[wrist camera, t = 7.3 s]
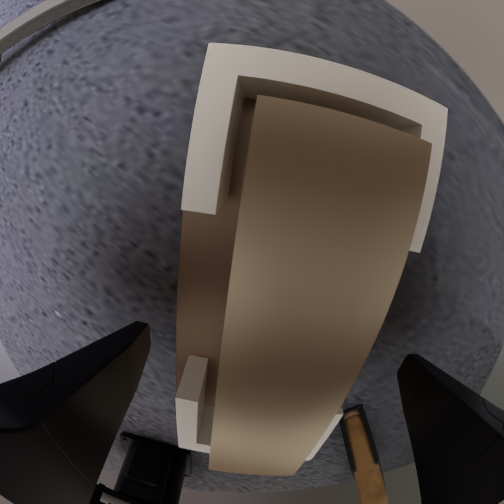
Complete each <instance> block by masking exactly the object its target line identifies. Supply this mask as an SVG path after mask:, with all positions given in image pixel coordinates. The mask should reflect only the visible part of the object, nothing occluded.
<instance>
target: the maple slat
mask: <svg viewBox="0 0 504 504" xmlns="http://www.w3.org/2000/svg"><path fill="white" fill-rule="evenodd" d="M431 149H432V143H430V142H427V141H425V140H423V139H420V138H418V137H415V136H413V135H410V134H408V133H405V132H403V131H400V130H397V129H395V128H392V127H389V126H386V125H383V124H380V123H377V122H374V121H371V120H368V119H365V118H361V117H358V116H355V115H351V114H348V113H344V112H340V111H337V110H333V109H329V108H325V107H321V106H316V105H312V104H307V103H302V102H297V101H292V100H287V99H281V98H275V97H269V96H263V95H257V100H256V106H255V112H254V118H253V124H252V131H251V137H250V143H249V149H248V156H247V162H246V169H245V175H244V182H243V189H242V195H241V202H240V209H239V216H238V223H237V230H236V237H235V244H234V252H233V259H232V266H231V274H230V281H229V289H228V297H227V305H226V312H225V320H224V329H223V337H222V345H221V354H220V362H219V371H218V380H217V389H216V398H215V407H214V417H213V426H212V436H211V447H210V457H209V468H208V469H209V470H215V471H222V472H231V473H240V474H252V475H271V476H293V475H294V474H295V473H296V472H297V470H298V469H299V468H300V466H301V465H302V464H303V462H304V461H305V460H306V458H307V457H308V456H309V454H310V453H311V451H312V450H313V449H314V447H315V446H316V444H317V443H318V441H319V440H320V438H321V437H322V435H323V434H324V432H325V431H326V429H327V428H328V426H329V425H330V423H331V422H332V420H333V418H334V417H335V415H336V414H337V412H338V410H339V409H340V407H341V405H342V404H343V402H344V400H345V398H346V397H347V395H348V393H349V391H350V389H351V388H352V386H353V384H354V382H355V380H356V378H357V377H358V375H359V373H360V371H361V369H362V367H363V365H364V363H365V361H366V359H367V357H368V355H369V353H370V351H371V348H372V346H373V344H374V342H375V340H376V338H377V335H378V333H379V331H380V329H381V326H382V324H383V322H384V319H385V317H386V314H387V312H388V309H389V307H390V304H391V302H392V299H393V297H394V294H395V291H396V289H397V286H398V283H399V280H400V277H401V274H402V271H403V268H404V265H405V262H406V259H407V256H408V253H409V249H410V246H411V243H412V239H413V236H414V232H415V228H416V224H417V221H418V217H419V213H420V208H421V204H422V200H423V195H424V190H425V185H426V180H427V175H428V169H429V163H430V156H431Z"/></svg>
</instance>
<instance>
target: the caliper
mask: <svg viewBox="0 0 504 504" xmlns="http://www.w3.org/2000/svg"><path fill="white" fill-rule="evenodd" d="M99 1H102V0H46V1H44V2H42V3H40V4H39V5H37V6H35V7H34V8H32V9H30V10H29V11H27V12H25V13H24V14H22V15H21V16H19V17H18V18H16V19H15V20H13V21H12V22H10V23H9V24H8V25H6V26H5V27H3V28H2V29H1V30H0V62H1V57H2V53H3V52H4V51H6V50H7V49H9V48H10V47H12V46H13V45H15V44H16V43H18V42H19V41H21V40H22V39H24V38H25V37H27V36H29V35H30V34H32V33H34V32H35V31H37V30H39V29H41V28H42V27H44V26H46V25H48V24H50V23H52V22H54V21H56V20H58V19H60V18H62V17H64V16H66V15H68V14H70V13H72V12H75V11H77V10H79V9H82V8H84V7H86V6H89V5H92V4H94V3H97V2H99Z"/></svg>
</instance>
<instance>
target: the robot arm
mask: <svg viewBox="0 0 504 504" xmlns="http://www.w3.org/2000/svg"><path fill="white" fill-rule="evenodd" d="M150 345H151V341H150V327H149V324H148V323H144V322H140V321H136V322H133V323H131V324H129V325H127V326H126V327H124V328H122V329H120V330H118V331H116V332H114V333H112V334H110V335H107V336H105V337H103V338H101V339H99V340H97V341H95V342H93V343H91V344H89V345H87V346H85V347H83V348H81V349H79V350H77V351H75V352H73V353H71V354H69V355H67V356H65V357H63V358H61V359H59V360H57V361H56V363H55V362H53V363H51V364H49V365H46V366H44V367H42V368H40V369H38V370H36V371H33V372H31V373H28V374H26V375H23V376H21V377H18V378H15V379H12V380H9V381H7V382H4V383H1V384H0V504H105V503H103V502H100V499H101V498H102V499H104V500H106V501H108V502H111V503H113V504H179V499H180V494H181V489H182V485H183V480H184V477H191V452H190V451H188V450H185V449H180V448H176V447H172V446H167V445H163V444H160V443H156V442H152V441H149V440H145V439H142V438H139V437H135V436H132V435H129V434H126V433H121V435H120V439H121V441H122V443H123V446H124V448H125V450H126V453H127V454H126V457H125V459H124V462H123V465H122V468H121V470H120V473H119V476H118V479H117V482H116V484H115V487H114V490H112V489H110V488H107V487H105V485H103V484H101V483H99V485H98V484H97V481H98V479H99V476H100V474H101V471H102V469H103V466H104V464H105V461H106V459H107V456H108V454H109V451H110V449H111V447H112V444H113V442H114V439H115V437H116V435H117V432H118V430H119V428H120V425H121V423H122V421H123V419H124V416H125V414H126V412H127V410H128V407H129V405H130V403H131V401H132V398H133V396H134V394H135V392H136V389H137V387H138V384H139V381H140V378H141V375H142V372H143V369H144V366H145V363H146V359H147V356H148V353H149V350H150ZM397 379H398V384H399V389H400V395H401V401H402V407H403V412H404V416H405V420H406V424H407V428H408V432H409V436H410V441H411V445H412V450H413V455H414V460H415V465H416V470H417V476H418V482H419V488H420V495H421V499H422V500H421V503H422V504H504V411H503V410H502V409H500V408H498V407H497V406H495V405H494V404H492V403H490V402H489V401H487V400H486V399H484V398H482V397H481V396H480V395H478V394H477V393H475V392H474V391H472V390H471V389H469V388H468V387H466V386H465V385H463V384H462V383H460V382H459V381H457V380H456V379H454V378H453V377H451V376H450V375H448V374H447V373H445V372H444V371H442V370H441V369H439V368H438V367H436V366H435V365H433V364H432V363H430V362H429V361H427V360H426V359H424V358H423V357H421V356H420V355H418V354H408V355H407V356H406V357H405V359H404V361H403V363H402V364H401V366H400V368H399V370H398V372H397ZM111 503H109V504H111Z"/></svg>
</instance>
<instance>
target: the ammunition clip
mask: <svg viewBox="0 0 504 504" xmlns="http://www.w3.org/2000/svg"><path fill="white" fill-rule="evenodd" d="M339 422H340V426H341V430H342V434H343V439H344V443H345V447H346V452H347V456H348V461H349V465H350V470H351V473H352V475H353V476H354V478H355V481H356V486H357V490H358V495H359V499H360V504H388V499H387V494H386V488H385V483H384V478H383V473H382V468H381V464H380V460H379V456H378V453H377V450H376V446H375V443H374V440H373V437H372V433H371V430H370V427H369V424H368V421H367V418H366V415H365V412H364V409H363V406H362V405H360V406H358V407H355V408H352V409H350V410H347V411H344V412H343V416H342V418H341V419H340V421H339Z"/></svg>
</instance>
